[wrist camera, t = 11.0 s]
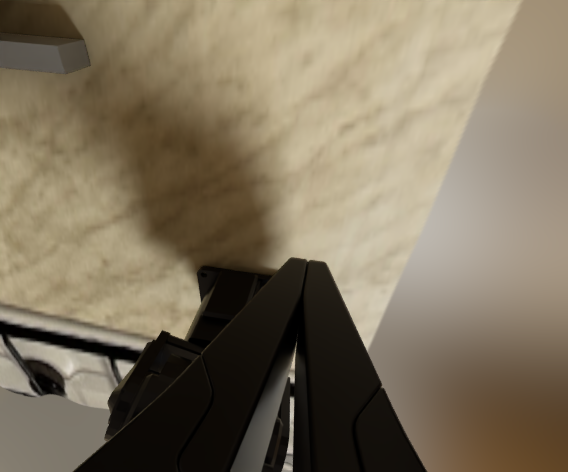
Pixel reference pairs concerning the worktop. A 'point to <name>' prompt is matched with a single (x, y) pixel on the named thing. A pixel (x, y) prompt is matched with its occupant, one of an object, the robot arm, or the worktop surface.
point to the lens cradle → (42, 53)
